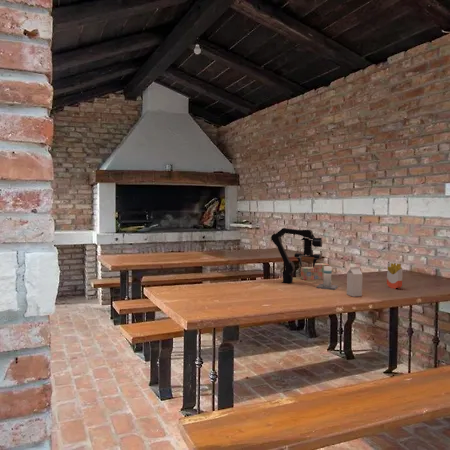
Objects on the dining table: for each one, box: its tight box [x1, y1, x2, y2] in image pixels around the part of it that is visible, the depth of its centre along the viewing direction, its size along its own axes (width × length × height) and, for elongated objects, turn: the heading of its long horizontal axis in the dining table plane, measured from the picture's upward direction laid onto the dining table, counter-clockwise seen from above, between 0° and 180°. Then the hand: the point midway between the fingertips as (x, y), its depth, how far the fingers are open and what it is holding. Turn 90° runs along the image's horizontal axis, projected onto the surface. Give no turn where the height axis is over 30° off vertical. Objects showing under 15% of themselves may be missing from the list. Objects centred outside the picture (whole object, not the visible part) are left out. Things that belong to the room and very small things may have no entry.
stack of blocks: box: [300, 262, 330, 281], centre depth 339 cm, size 21×6×12 cm, turn 98°
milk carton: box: [346, 266, 363, 298], centre depth 281 cm, size 7×7×19 cm
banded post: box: [322, 265, 333, 287], centre depth 305 cm, size 6×6×14 cm
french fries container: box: [386, 262, 404, 290], centre depth 306 cm, size 5×11×18 cm, turn 20°
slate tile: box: [316, 283, 339, 291], centre depth 306 cm, size 13×11×1 cm
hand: (307, 267), depth 316 cm, fingers open, 9 cm apart
